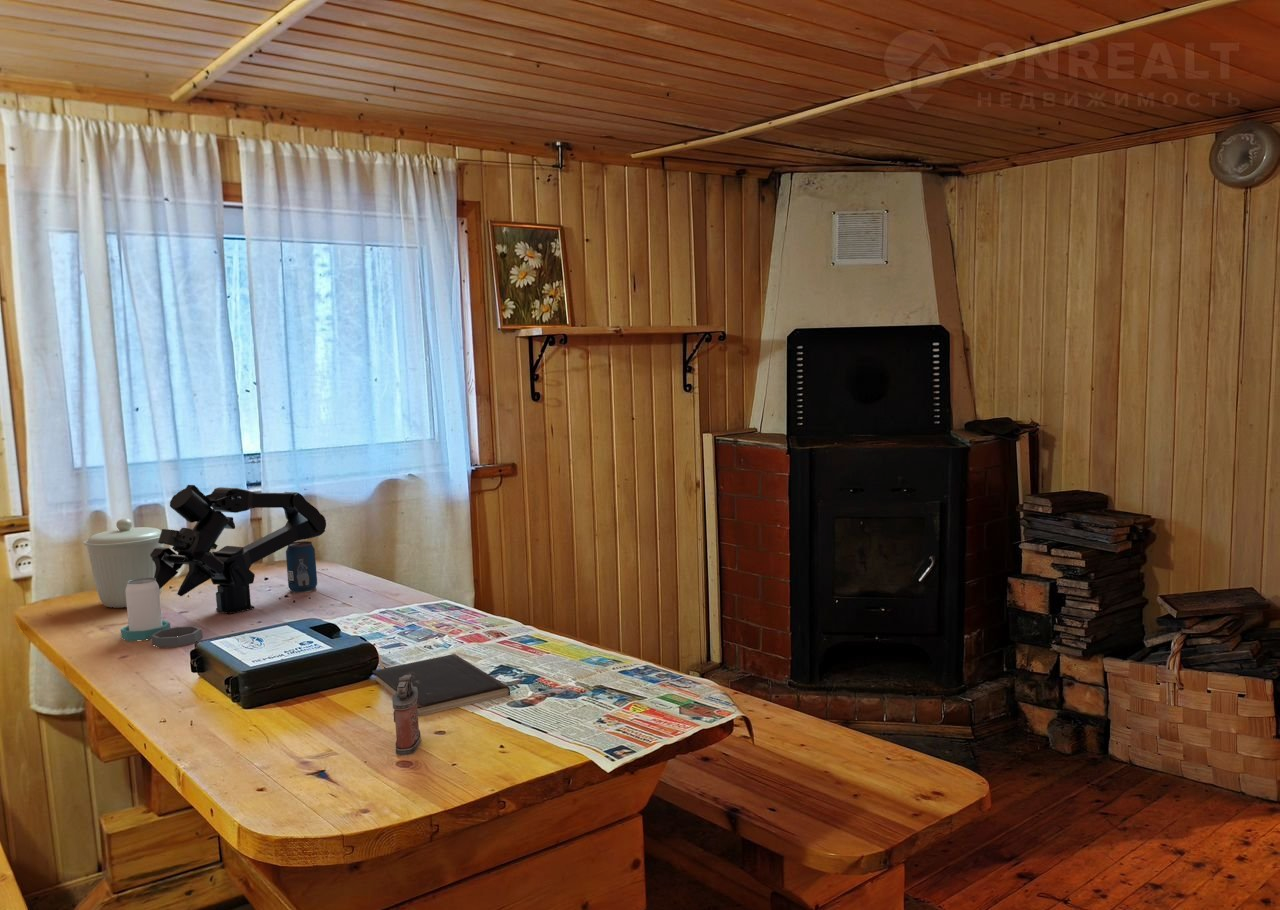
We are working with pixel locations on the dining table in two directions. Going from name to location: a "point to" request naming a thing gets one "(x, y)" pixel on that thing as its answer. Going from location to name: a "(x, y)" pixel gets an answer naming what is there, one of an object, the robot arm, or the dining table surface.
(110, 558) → the canister
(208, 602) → the dining table surface
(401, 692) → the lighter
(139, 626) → the can
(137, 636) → the socket
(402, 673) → the hardcover book
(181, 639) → the socket
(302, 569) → the soda can
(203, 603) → the dining table surface
